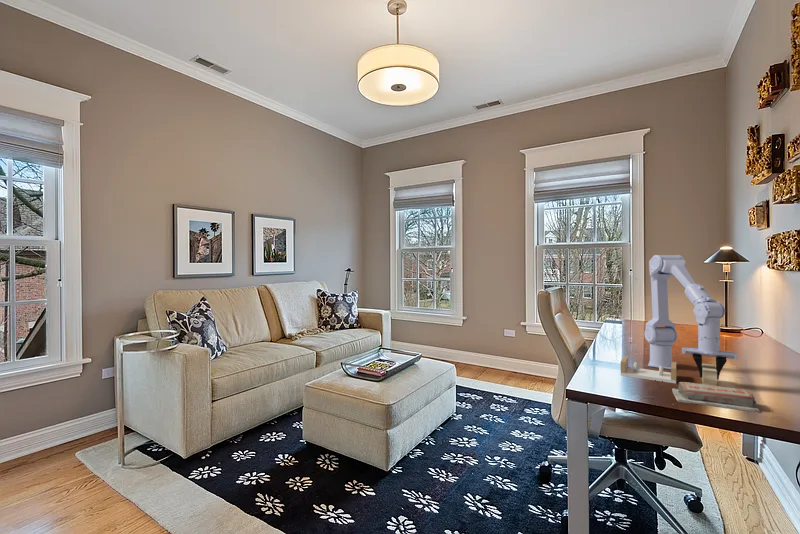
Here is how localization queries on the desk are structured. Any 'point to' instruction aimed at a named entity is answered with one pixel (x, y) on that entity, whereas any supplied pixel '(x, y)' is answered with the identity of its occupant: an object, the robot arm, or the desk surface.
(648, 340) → the robot arm
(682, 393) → the packaged product
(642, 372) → the wooden peg tray
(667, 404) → the desk surface
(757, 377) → the desk surface
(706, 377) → the shelf board
